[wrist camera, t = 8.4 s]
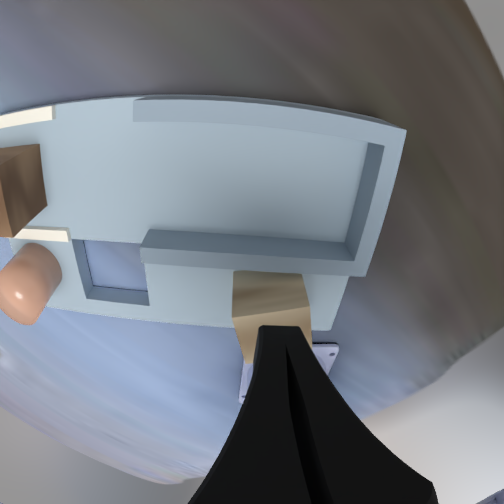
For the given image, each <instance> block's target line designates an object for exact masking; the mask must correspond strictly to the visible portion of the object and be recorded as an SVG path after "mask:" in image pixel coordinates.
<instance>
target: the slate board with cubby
mask: <svg viewBox="0 0 504 504" xmlns="http://www.w3.org/2000/svg"><path fill="white" fill-rule="evenodd" d="M406 131H407V130H405V129H402V128H400V127H398V126H396V125H393V124H391V123H388V122H386V121H384V120H381V119H379V118H375V117H371V116H366V115H362V114H357V113H352V112H347V111H342V110H337V109H331V108H326V107H320V106H314V105H307V104H301V103H294V102H286V101H278V100H269V99H259V98H248V97H235V96H218V95H188V94H162V95H132V96H116V97H103V98H92V99H83V100H75V101H67V102H60V103H53V104H47V105H41V106H36V107H30V108H25V109H20V110H15V111H11V112H6V113H2V114H0V148H5V147H13V146H21V145H31V144H40V152H41V162H42V171H43V179H44V186H45V192H46V199H47V205H48V206H47V207H45V208H44V209H43V210H42V211H41V212H40V213H39V214H38V215H37V216H35V217H34V218H33V219H32V220H31V221H30V222H29V223H28V224H27V225H26V226H25V227H24V228H23V229H22V230H21V231H20V232H19V233H18V234H17V235H16V236H15V237H14V238H9V242H10V245H11V249H12V252H13V255H15V254H16V253H17V252H18V251H19V250H20V249H21V248H22V247H23V246H24V245H25V244H27V243H37V244H40V245H42V246H44V247H45V248H47V249H48V250H49V251H50V252H51V253H52V254H53V255H54V256H55V257H56V259H57V261H58V262H59V264H60V267H61V270H62V280H61V282H60V284H59V286H58V287H57V289H56V290H55V292H54V293H53V295H52V296H51V298H50V300H49V301H48V303H47V304H46V307H52V308H58V309H64V310H70V311H76V312H83V313H89V314H96V315H104V316H111V317H119V318H127V319H136V320H144V321H154V322H164V323H174V324H186V325H198V326H212V327H228V328H235V327H234V324H233V321H232V290H233V272H234V271H241V270H247V271H263V272H280V273H298V274H302V277H303V281H304V285H305V288H306V292H307V296H308V300H309V304H310V314H311V330H326V331H330V330H331V327H332V324H333V321H334V319H335V316H336V313H337V310H338V308H339V305H340V302H341V299H342V296H343V293H344V290H345V287H346V284H347V281H348V278H349V276H357V277H365V276H366V273H367V270H368V267H369V264H370V261H371V259H372V256H373V253H374V250H375V247H376V243H377V240H378V237H379V234H380V231H381V228H382V224H383V221H384V218H385V214H386V211H387V207H388V204H389V200H390V197H391V193H392V190H393V186H394V182H395V178H396V174H397V170H398V166H399V162H400V158H401V154H402V149H403V145H404V140H405V136H406ZM5 238H8V237H5ZM83 240H96V241H112V242H127V243H141V245H140V247H139V248H140V257H141V263H144V265H145V274H146V282H147V289H148V292H147V291H136V290H126V289H116V288H107V287H98V286H93V283H92V279H91V275H90V271H89V266H88V262H87V257H86V253H85V248H84V243H83Z"/></svg>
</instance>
